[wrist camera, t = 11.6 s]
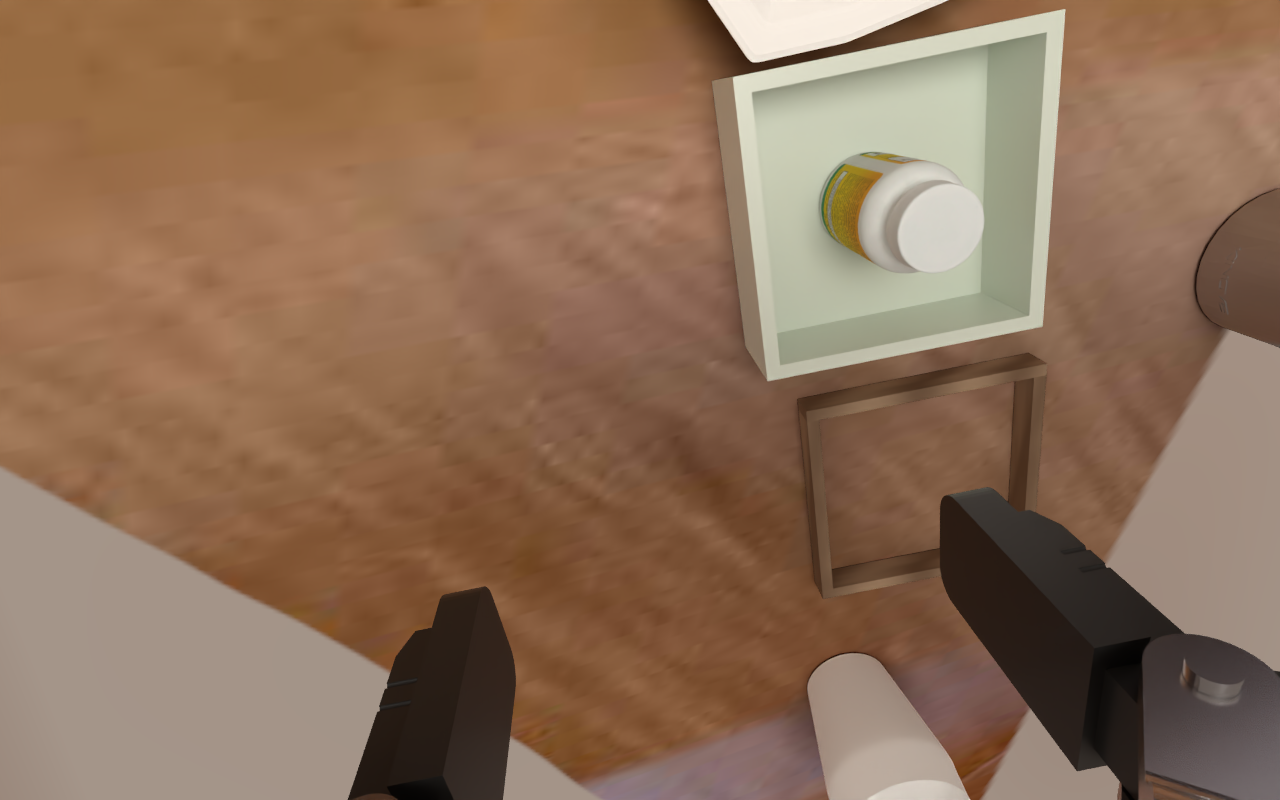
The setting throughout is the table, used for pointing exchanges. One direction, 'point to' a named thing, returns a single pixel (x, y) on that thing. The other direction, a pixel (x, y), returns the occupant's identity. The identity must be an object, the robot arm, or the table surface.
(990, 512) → the robot arm
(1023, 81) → the plastic bin
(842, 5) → the bowl
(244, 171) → the table surface
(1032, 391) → the walnut frame
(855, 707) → the cup
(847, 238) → the supplement bottle
